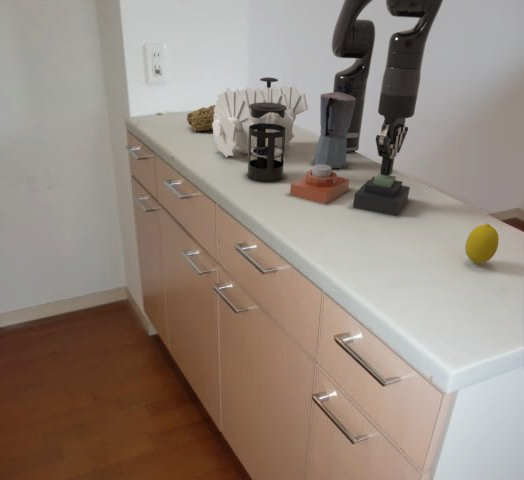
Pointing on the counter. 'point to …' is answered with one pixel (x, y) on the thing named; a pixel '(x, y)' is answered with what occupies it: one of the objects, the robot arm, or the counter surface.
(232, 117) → the spiral staircase
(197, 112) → the sponge
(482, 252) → the lemon
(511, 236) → the counter surface
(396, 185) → the dark square push button
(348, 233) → the counter surface
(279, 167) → the french press
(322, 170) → the pale grey round puck
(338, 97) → the moka pot
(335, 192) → the orange button block
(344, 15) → the robot arm
